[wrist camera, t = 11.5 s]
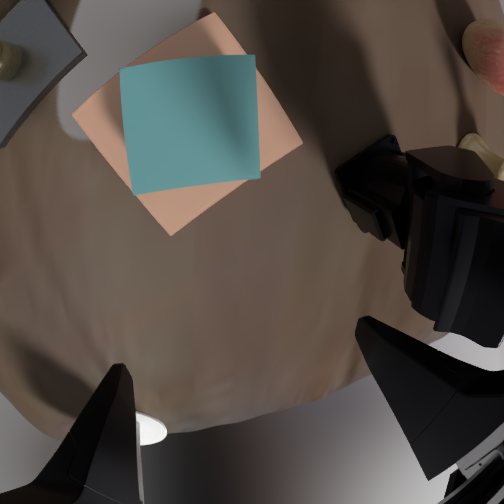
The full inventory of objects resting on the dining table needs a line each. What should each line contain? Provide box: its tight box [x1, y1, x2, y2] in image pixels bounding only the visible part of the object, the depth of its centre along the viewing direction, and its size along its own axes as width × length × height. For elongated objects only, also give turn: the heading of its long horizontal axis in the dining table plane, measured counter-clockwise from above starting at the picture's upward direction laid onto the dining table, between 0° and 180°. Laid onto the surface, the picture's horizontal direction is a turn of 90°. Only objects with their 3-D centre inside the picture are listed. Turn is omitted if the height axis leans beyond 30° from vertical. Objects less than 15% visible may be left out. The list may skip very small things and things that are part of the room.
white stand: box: [136, 411, 167, 504], centre depth 23 cm, size 12×11×15 cm
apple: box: [462, 19, 504, 96], centre depth 13 cm, size 9×9×8 cm
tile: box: [72, 12, 303, 236], centre depth 16 cm, size 11×11×1 cm
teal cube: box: [120, 55, 261, 195], centre depth 13 cm, size 6×6×5 cm
